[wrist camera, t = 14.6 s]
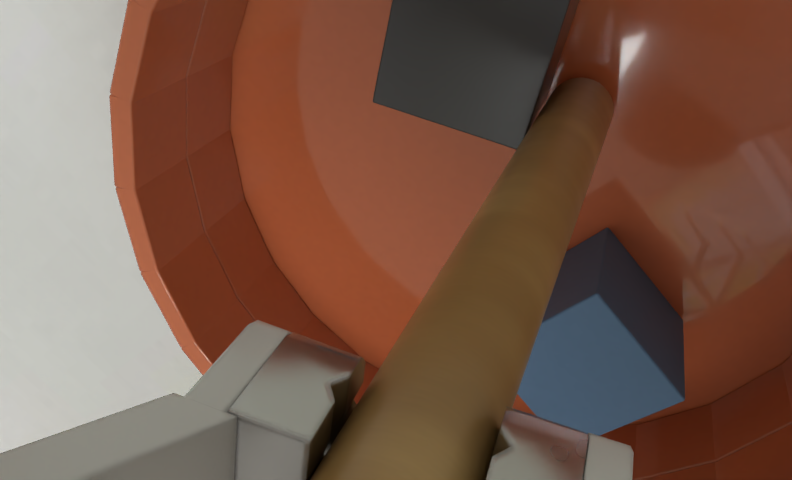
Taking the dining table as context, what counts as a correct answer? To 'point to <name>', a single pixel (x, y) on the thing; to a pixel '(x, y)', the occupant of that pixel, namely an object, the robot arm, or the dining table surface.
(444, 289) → the stirring stick
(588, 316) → the blue block
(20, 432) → the dining table surface
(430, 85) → the charcoal block
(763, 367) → the mixing bowl
